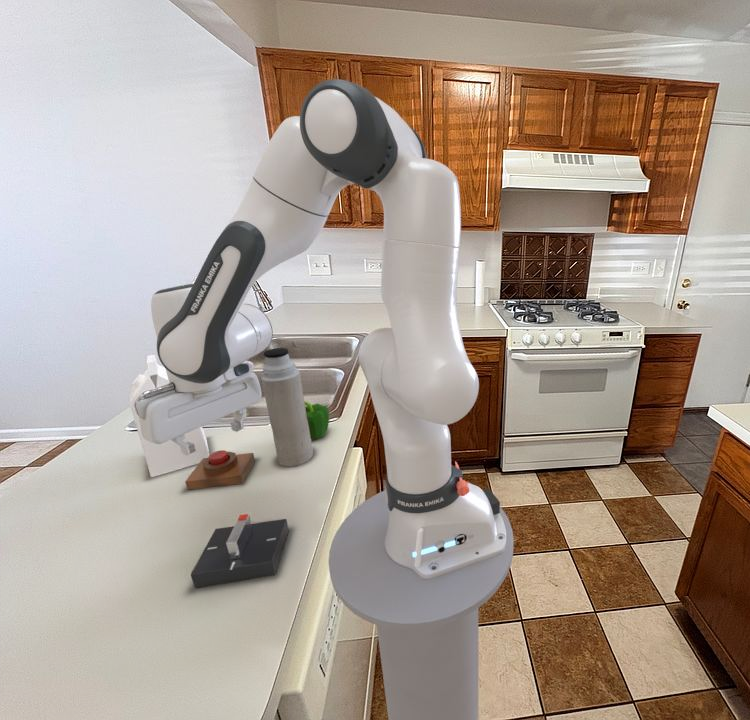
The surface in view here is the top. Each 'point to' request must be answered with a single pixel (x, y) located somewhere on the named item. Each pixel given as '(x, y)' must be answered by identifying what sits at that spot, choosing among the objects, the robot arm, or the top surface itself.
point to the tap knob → (239, 536)
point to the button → (218, 457)
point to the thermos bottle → (286, 408)
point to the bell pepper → (317, 420)
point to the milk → (169, 452)
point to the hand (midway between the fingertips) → (214, 440)
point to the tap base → (255, 558)
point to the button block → (221, 472)
